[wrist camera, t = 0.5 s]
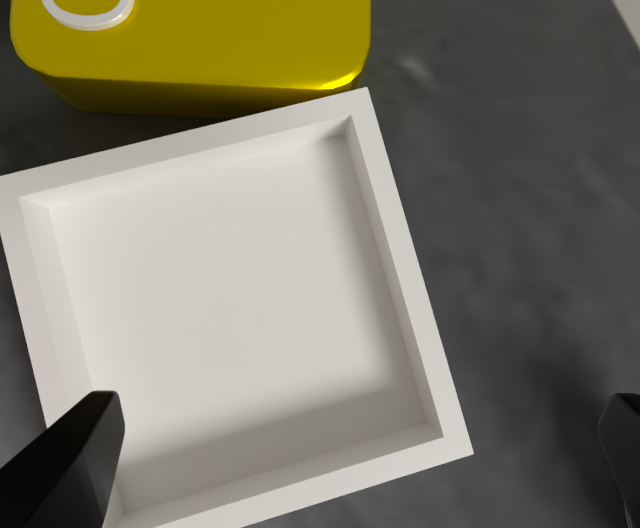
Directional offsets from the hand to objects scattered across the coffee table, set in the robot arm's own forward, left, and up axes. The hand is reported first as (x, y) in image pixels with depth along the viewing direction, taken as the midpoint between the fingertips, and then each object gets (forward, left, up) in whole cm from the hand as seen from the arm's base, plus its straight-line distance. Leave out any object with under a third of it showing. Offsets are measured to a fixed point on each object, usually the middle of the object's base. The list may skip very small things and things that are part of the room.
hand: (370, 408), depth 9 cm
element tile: (+19, 0, -15) cm, 25 cm away
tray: (+2, +3, -15) cm, 15 cm away
